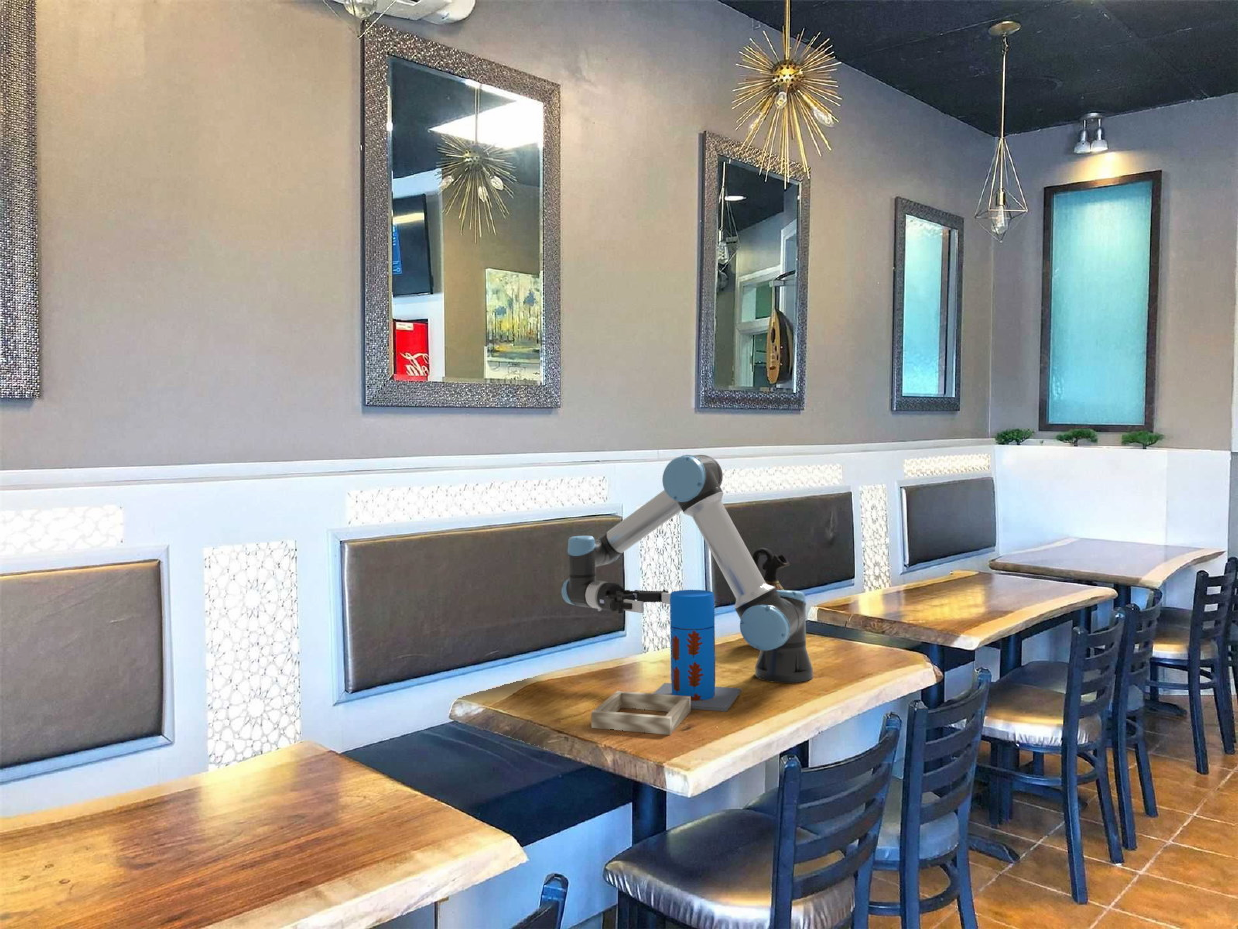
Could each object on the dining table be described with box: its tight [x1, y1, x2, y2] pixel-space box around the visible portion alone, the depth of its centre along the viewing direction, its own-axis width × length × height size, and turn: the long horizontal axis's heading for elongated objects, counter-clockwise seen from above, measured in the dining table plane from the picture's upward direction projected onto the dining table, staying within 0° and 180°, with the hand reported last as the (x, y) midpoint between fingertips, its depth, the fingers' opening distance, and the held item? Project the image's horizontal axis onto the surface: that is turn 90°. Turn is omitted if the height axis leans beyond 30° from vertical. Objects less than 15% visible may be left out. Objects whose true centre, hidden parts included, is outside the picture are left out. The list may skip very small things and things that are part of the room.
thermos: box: [669, 589, 716, 701], centre depth 225 cm, size 11×11×25 cm
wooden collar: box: [590, 690, 692, 736], centre depth 208 cm, size 18×18×4 cm
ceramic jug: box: [751, 547, 790, 590], centre depth 281 cm, size 17×15×30 cm
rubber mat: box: [652, 682, 742, 712], centre depth 225 cm, size 20×18×1 cm
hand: (662, 603), depth 232 cm, fingers open, 13 cm apart
